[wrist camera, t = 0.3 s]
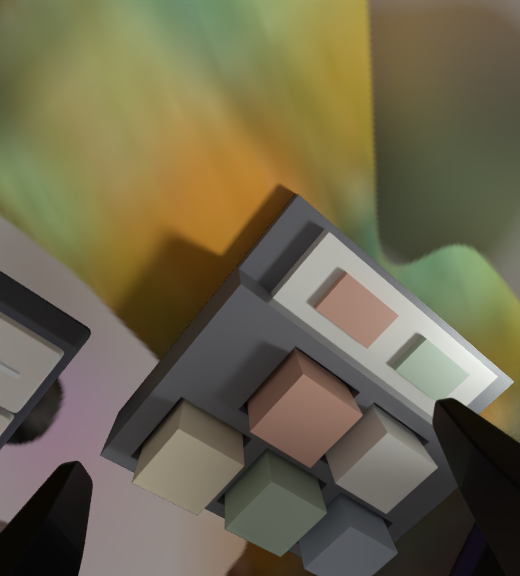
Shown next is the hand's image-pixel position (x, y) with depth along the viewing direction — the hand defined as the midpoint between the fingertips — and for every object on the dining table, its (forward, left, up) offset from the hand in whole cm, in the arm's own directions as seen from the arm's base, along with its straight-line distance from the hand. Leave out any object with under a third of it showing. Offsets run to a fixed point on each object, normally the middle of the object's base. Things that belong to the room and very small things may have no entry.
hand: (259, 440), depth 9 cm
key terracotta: (-3, -7, -12) cm, 14 cm away
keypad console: (-4, -10, -15) cm, 18 cm away
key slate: (-10, -16, -12) cm, 22 cm away
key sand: (-10, -4, -12) cm, 15 cm away
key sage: (-10, -10, -12) cm, 18 cm away
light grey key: (-3, -13, -12) cm, 18 cm away
